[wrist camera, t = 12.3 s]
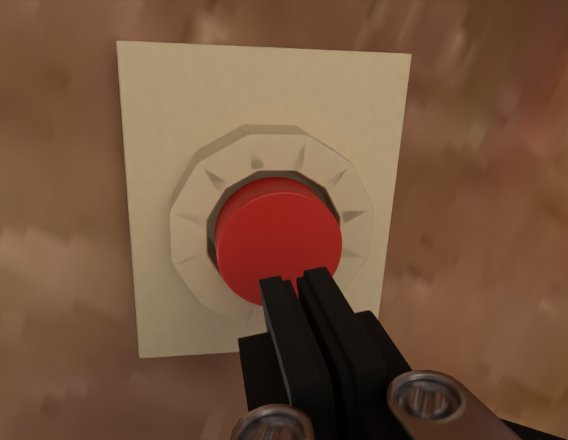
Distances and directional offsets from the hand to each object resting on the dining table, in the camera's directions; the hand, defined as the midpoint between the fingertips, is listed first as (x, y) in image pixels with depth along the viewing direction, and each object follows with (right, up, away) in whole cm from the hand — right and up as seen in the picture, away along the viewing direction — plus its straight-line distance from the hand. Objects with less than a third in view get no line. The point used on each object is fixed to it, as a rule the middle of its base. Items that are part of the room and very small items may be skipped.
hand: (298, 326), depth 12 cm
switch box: (-1, +3, +8) cm, 9 cm away
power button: (-1, +2, +5) cm, 5 cm away
